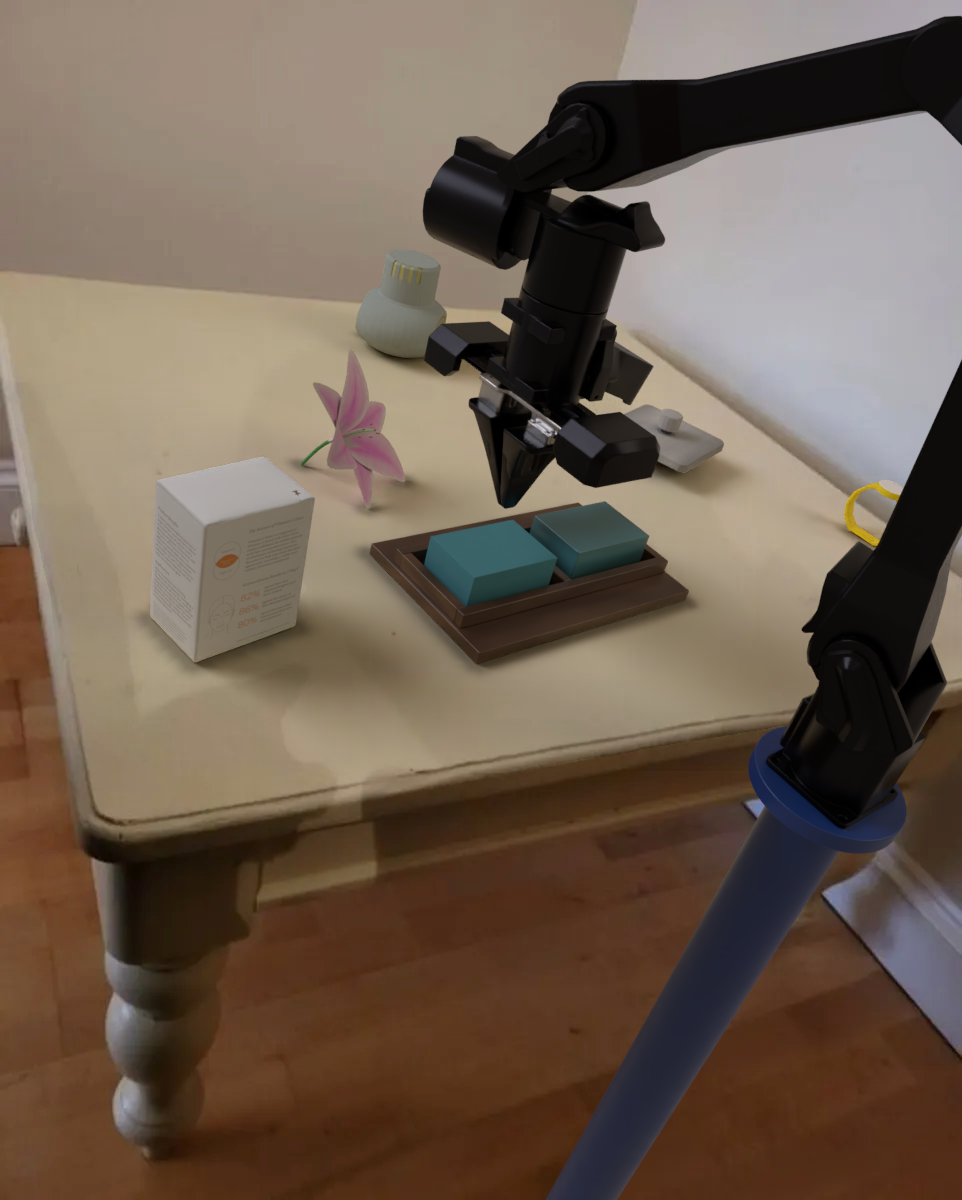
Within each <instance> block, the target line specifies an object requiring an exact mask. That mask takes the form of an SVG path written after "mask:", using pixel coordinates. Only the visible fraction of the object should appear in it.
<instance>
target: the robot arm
mask: <svg viewBox="0 0 962 1200" xmlns="http://www.w3.org/2000/svg"><path fill="white" fill-rule="evenodd" d="M551 109H552V110H551V111H550V113H549V116H548V120H547V124H546V125H545V126H544V127H543V128H542V129H541V130H540V131H539V132H537V134H535V135H534V136H533V137H532V138H531V139H530V140H529V141H528V142H526V144H525V145H524V146H522V148H521V149H520V150H518V151H517V152H516V153H511V152H508V151H506V150H504V149H502V148H499V147H498V146H497V145H496V144H494V143H493V142H491V141H490V140H489V139H485V138H483V137H481V136H478V135H461V136H458V137H457V138H456V139H455V145H454V150H453V155H451V156H450V157H449V158H448V159H446V160H445V161H444V163H442V165H441V166H440V167H439V168H438V170H437V172H436V174H435V175H434V176H433V177H434V178H433V179H432V182H431V184H430V187H428V188H427V189H426V190H425V193H424V198H423V202H422V203H423V205H422V222H423V226H424V229H425V231H426V233H427V234H428V236H429V237H430V238H432V239H433V240H435V241H437V242H440V243H442V244H444V245H447V246H449V247H451V248H453V249H455V250H457V251H460V252H461V253H464V254H467V255H468V256H471V257H472V258H475V259H477V260H479V261H481V262H484V263H486V264H488V265H490V266H493V267H495V268H496V269H499V270H504V271H506V270H510V269H511V268H515V266H517V265H518V264H519V263H520V262H521V261H526V260H527V264H526V267H525V271H524V274H523V275H524V276H523V280H522V284H521V287H520V291H519V295H518V297H504V298H503V303H502V306H501V311H500V314H502V315H503V316H504V317H506V318H507V319H509V320H510V321H512V322H511V327H510V330H509V333H507V332H506V331H504V330H503V329H501V328H499V326H497V325H495V324H494V323H492V322H491V321H489V320H487V321H470V322H469V321H468V322H467V321H466V322H447V323H445V324H441V325H440V326H439V327H438V328H437V329H436V330H435V331H434V332H433V333H432V334H431V335H430V336H429V337H428V342H427V347H426V352H425V356H424V357H423V362H425V363H426V364H427V365H428V366H429V367H431V368H432V369H434V370H435V371H436V372H437V373H439V374H440V375H442V376H443V377H451V376H453V375H455V374H456V373H458V372H459V371H460V370H461V367H462V361H465V362H466V363H467V364H468V365H470V366H471V367H473V368H474V369H475V370H476V371H478V372H479V376H478V379H479V380H480V381H481V385H480V388H479V392H478V396H477V397H470V398H469V399H468V408H469V409H470V410H471V411H472V412H473V414H474V417H475V420H476V424H477V427H478V431H479V434H480V437H481V441H482V444H483V447H484V451H485V455H486V458H487V464H488V466H489V471H490V475H491V481H492V484H493V488H494V489H493V490H494V492H495V496H496V501H497V504H498V505H500V506H501V508H502V509H505V510H507V509H512V508H515V507H516V506H517V505H518V504H519V502H520V501H521V500H522V499H523V498H524V497H525V495H526V494H527V492H528V491H529V490H530V488H531V487H532V486H533V485H534V484H535V482H536V481H537V479H538V478H539V477H540V476H541V474H542V473H543V472H544V470H545V469H546V468H548V465H550V464H551V463H552V462H553V461H554V460H555V462H556V465H557V466H559V468H560V467H561V469H563V470H564V471H565V472H566V473H567V474H569V475H570V476H572V477H573V478H574V479H576V480H577V481H578V482H579V483H580V484H582V485H583V486H586V487H591V488H593V489H598V488H603V487H609V486H614V485H619V484H620V485H621V484H624V483H625V484H626V483H631V482H636V481H640V480H645V479H651V478H652V477H653V474H654V472H655V470H656V467H657V464H658V462H657V461H658V458H659V455H660V445H659V443H658V441H657V439H656V436H654V435H653V434H652V433H650V432H649V431H647V430H646V429H644V428H643V427H641V426H640V425H639V424H637V423H636V422H634V421H633V420H631V419H630V418H628V417H627V416H626V415H624V414H625V413H623V412H621V411H615V412H607V413H600V414H596V413H595V412H594V411H592V410H591V409H590V408H588V407H587V406H585V405H584V404H582V403H581V402H580V400H586V401H587V402H589V403H592V402H601V401H603V399H604V396H605V394H606V393H607V394H609V395H611V396H613V397H616V398H618V399H621V401H622V403H623V404H624V405H628V406H632V404H633V402H634V401H635V399H636V398H637V396H638V394H639V393H640V391H641V389H642V387H643V386H644V384H645V382H646V381H647V379H648V377H649V376H650V373H651V372H652V370H653V369H654V365H653V364H652V363H650V362H648V361H647V360H646V359H644V358H642V357H641V356H639V355H638V354H636V353H635V352H633V351H631V350H630V349H628V348H627V347H625V346H623V344H620V343H619V342H617V341H616V340H617V336H618V331H617V327H618V325H617V324H615V323H613V322H612V321H610V320H609V319H607V315H608V311H609V309H610V305H611V302H612V299H613V296H614V292H615V289H616V287H617V283H618V280H619V276H620V273H621V270H622V266H623V263H624V261H625V260H624V259H625V257H626V253H627V251H630V252H632V253H639V252H643V251H647V250H653V249H657V248H660V247H663V246H664V245H665V242H666V236H665V235H664V233H663V231H662V229H661V227H660V226H659V224H658V223H657V221H656V220H655V218H654V216H653V213H652V209H651V204H650V202H649V201H646V200H645V201H638V202H632V203H628V204H627V205H626V206H625V207H621V206H619V205H617V204H614V203H612V202H609V201H607V200H604V199H602V198H599V197H598V196H595V195H592V194H583V195H581V196H579V197H577V198H575V199H573V201H570V200H567V199H565V198H563V197H560V196H558V195H555V194H553V193H552V192H553V190H558V189H567V188H568V189H570V190H572V191H575V192H577V193H579V192H580V193H581V192H584V193H593V192H601V191H609V190H618V189H626V188H635V187H640V186H644V185H646V184H649V183H652V182H655V181H657V180H659V179H662V178H664V177H667V176H670V175H672V174H674V173H677V172H681V171H682V170H685V169H688V168H690V167H691V166H694V165H696V164H697V163H699V162H702V161H704V160H706V159H708V158H709V157H713V156H715V155H717V154H720V153H723V152H725V151H727V150H731V149H737V148H742V147H747V146H752V145H758V144H764V143H769V142H773V141H780V140H784V139H785V140H786V139H792V138H796V137H802V136H806V135H811V134H812V135H813V134H816V133H823V132H829V131H835V130H840V129H844V128H850V127H854V126H861V125H867V124H873V123H877V122H884V121H888V120H892V119H899V118H904V117H905V118H906V117H910V116H915V115H919V114H921V115H922V114H929V115H930V116H931V117H932V118H934V119H935V120H936V121H937V122H938V123H939V124H940V125H941V126H942V128H944V129H945V130H946V131H947V132H948V133H949V134H950V135H951V136H952V137H953V139H955V141H957V142H958V144H959V145H961V146H962V15H947V16H946V15H945V16H942V17H939V18H936V19H933V20H932V21H930V22H928V23H926V24H924V25H922V26H920V27H918V28H914V29H912V30H907V31H902V32H897V33H893V34H888V35H884V36H881V37H880V36H879V37H876V38H871V39H867V40H863V41H857V42H854V43H849V44H845V45H841V46H837V47H836V46H835V47H832V48H827V49H824V50H820V51H815V52H811V53H807V54H803V55H797V56H794V57H789V58H784V59H780V60H775V61H772V62H767V63H763V64H759V65H755V66H751V67H746V68H742V69H737V70H732V71H728V72H725V73H720V74H716V75H711V76H706V77H703V78H688V79H687V78H684V79H683V78H682V79H613V80H612V79H611V80H609V79H607V80H606V79H605V80H584V81H579V82H576V83H574V84H572V85H569V86H568V87H566V88H565V89H564V90H563V91H561V93H559V94H558V96H557V98H556V102H555V104H554V106H553V108H551ZM961 538H962V359H961V360H960V363H959V365H958V366H957V369H956V370H955V373H954V376H953V378H952V379H951V382H950V384H949V386H948V388H947V390H946V393H945V395H944V398H943V399H942V402H941V403H940V406H939V408H938V411H937V413H936V415H935V417H934V419H933V422H932V424H931V426H930V429H929V431H928V433H927V435H926V437H925V440H924V442H923V444H922V445H921V448H920V451H919V452H918V455H917V457H916V459H915V461H914V464H913V466H912V468H911V470H910V473H909V474H908V476H907V479H906V481H905V484H904V486H903V490H902V492H901V495H900V497H899V499H898V501H897V502H896V503H895V505H894V508H893V510H892V512H891V514H890V517H889V519H888V521H887V523H886V526H885V527H884V530H883V532H882V535H881V537H880V541H879V543H878V545H877V546H875V548H874V549H872V548H870V547H869V546H867V545H866V544H864V543H863V542H862V541H856V542H855V544H854V545H852V547H850V549H849V550H848V551H847V552H845V554H844V555H843V556H842V557H841V558H840V559H839V560H838V561H837V562H836V563H835V564H834V565H833V566H832V568H831V569H830V570H829V571H828V572H827V574H826V575H825V578H824V581H823V585H822V588H821V591H820V592H821V593H820V597H819V602H818V605H817V609H816V611H815V612H814V614H813V615H812V616H811V617H810V618H809V620H808V621H806V622H805V624H804V625H803V626H802V627H801V632H802V633H804V634H812V635H811V636H810V638H809V640H808V643H807V649H806V663H807V664H808V666H809V667H811V670H812V672H813V674H814V677H815V678H816V680H817V681H818V685H817V687H816V689H815V691H814V693H811V694H809V695H807V696H805V697H803V698H802V699H801V701H800V703H799V704H798V706H797V708H796V710H795V712H794V714H793V715H792V717H791V719H790V721H789V722H788V724H787V726H788V727H787V728H786V730H785V732H784V734H783V736H782V738H781V739H780V745H781V746H782V747H783V749H781V750H779V751H776V752H774V753H772V754H770V755H769V756H768V757H767V759H766V764H767V766H768V767H769V768H771V769H772V770H773V771H774V772H775V773H776V774H777V775H779V776H780V777H781V778H782V779H783V780H784V781H785V782H786V783H788V784H789V785H790V786H791V787H792V788H793V789H794V790H796V791H797V792H798V793H799V794H800V795H801V796H802V797H803V798H805V799H806V800H807V801H808V802H809V803H810V804H811V805H813V806H814V807H815V808H816V809H817V810H818V811H819V812H820V813H822V814H823V815H824V816H825V817H826V818H827V819H828V820H830V821H831V822H832V823H833V824H834V825H835V826H837V827H838V828H840V829H847V828H849V827H850V826H852V825H854V824H855V823H857V822H859V821H860V820H862V819H864V818H865V817H867V816H869V815H870V814H872V813H874V812H875V811H877V810H879V809H880V808H882V807H884V806H886V805H887V804H889V803H891V802H892V801H894V800H895V799H896V797H897V796H898V792H897V790H896V789H895V788H894V785H895V784H896V783H897V782H898V781H899V780H900V778H901V777H902V775H903V773H904V772H905V770H906V769H907V767H908V766H909V764H910V763H911V761H912V760H913V757H914V756H915V754H916V753H917V751H918V750H919V748H920V747H921V746H922V743H923V742H924V741H925V739H926V738H927V735H926V733H925V732H923V731H922V730H923V728H924V726H925V724H926V722H927V721H928V720H929V717H930V716H931V714H932V712H933V710H934V709H935V707H936V705H937V703H938V701H939V700H940V698H941V696H942V694H943V693H944V691H945V689H946V687H947V685H948V681H947V679H946V676H945V673H944V671H943V668H942V665H941V663H940V660H939V658H938V655H937V653H936V650H935V647H934V645H933V643H932V642H933V639H934V636H935V634H936V630H937V626H938V624H939V620H940V616H941V612H942V608H943V604H944V601H945V597H946V593H947V589H948V583H949V575H950V570H951V563H952V558H953V555H954V551H955V550H956V547H957V545H959V544H958V543H959V541H960V540H961Z"/></svg>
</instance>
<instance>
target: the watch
mask: <svg viewBox="0 0 962 1200" xmlns="http://www.w3.org/2000/svg"><path fill="white" fill-rule="evenodd" d="M903 488H904V486H901V484H899V483H896V482H895V481H892V480H889V479H880V480H878V482H872V483H869V484H866V485H865V486H862V487H860V488H858V489H856V490H855V491H853V492H852V493H851V494H850V496H849V497H848V499H847V500H846V503H845V506H844V513H843V516H844V517H843V518H844V521H845V522H844V523H845V524H846V527H847V530H848V532H851V533H853V534H855V535H856V536H858V537H859V538H861V539H862V540H864V541H865V542H867V543H868V544H870V546H872V547H877V545H878V543H879V541H880V539H881V538H880V539H879V538H876V537H875V536H873V535H872V534H870V533H869V532H868V531H866V530H865V529H863V528H861V526H859V525H857V522H856V519H855V516H854V509H855V502H856V501H857V499H858V498H859V497H860V495H861V494H862V493H863V492H865V491H867V490H876V491H877V492H878V493H879V495H881V496H883V497H884V498H887V499H889V500H891V501H895V502H896V503H897V501H898V499H899V497H900V495H901V492H902V490H903Z"/></svg>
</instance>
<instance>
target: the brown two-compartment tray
mask: <svg viewBox="0 0 962 1200" xmlns="http://www.w3.org/2000/svg"><path fill="white" fill-rule="evenodd" d="M509 520H514V521H515V522H516V523H517V524H519V525H520V526H521V527H522V528H523V529H524V530H526V531H527V532H528V533H529V534H530V535H531V536H533V537H534V538H535V539H536V540H537V541H538V542H540V543H541V544H542V545H543V546H544V547H545V548H547V549H548V550H549V551H550V552H551V553H552V554H554V555H555V556H556V557H557V561H556V564H555V567H554V570H553V573H552V576H551V579H550V582H549V585H548V586H545V587H541V588H537V589H534V590H530V591H526V592H522V593H518V594H514V595H510V596H507V597H503V598H499V599H495V600H491V601H487V602H484V603H480V604H476V605H472V606H468V607H465V605H464V604H463V603H462V602H461V601H459V600H458V599H457V598H456V597H455V596H454V595H453V594H452V593H451V592H450V591H449V590H448V589H447V588H446V587H445V586H444V585H443V584H442V583H441V582H440V581H439V580H438V579H437V578H436V577H435V576H434V575H433V574H432V573H431V572H430V571H429V570H428V569H427V568H426V567H425V566H424V563H425V559H426V554H427V550H428V546H429V542H430V538H431V536H435V535H440V534H445V533H450V532H455V531H460V530H465V529H470V528H474V527H479V526H484V525H489V524H494V523H499V522H504V521H509ZM649 539H650V534H648V533H647V532H645V531H644V529H642V528H640V527H639V526H638V525H637V524H635V523H634V522H633V521H632V520H630V519H629V518H628V517H626V516H625V515H624V514H622V513H621V512H620V511H619V510H618V509H616V508H615V507H614V506H612V505H611V504H610V503H608V502H607V501H600V502H595V503H589V504H585V505H582V504H581V503H580V502H574V503H569V504H563V505H559V506H554V507H549V508H544V509H539V510H532V511H528V512H523V513H517V514H513V515H508V516H502V517H499V518H498V517H497V518H493V519H487V520H483V521H477V522H473V523H468V524H463V525H457V526H453V527H448V528H443V529H438V530H432V531H427V532H423V533H418V534H412V535H408V536H402V537H397V538H392V539H388V540H387V539H386V540H382V541H377V542H372V543H371V544H370V548H369V555H370V556H371V557H372V558H373V559H374V561H376V562H377V563H378V564H379V566H381V567H382V568H383V570H384V571H385V572H386V573H387V574H388V575H389V576H390V577H391V578H392V579H393V580H394V581H395V582H396V583H397V584H398V585H399V586H400V587H401V588H402V589H403V590H404V591H405V592H406V594H408V595H409V596H410V597H411V598H412V600H414V601H415V603H416V604H418V606H419V607H420V608H421V609H423V611H424V612H426V614H427V615H428V616H429V617H430V618H431V619H432V620H433V621H434V622H435V623H436V625H438V626H439V627H440V628H441V629H442V630H443V631H444V633H446V635H448V636H449V637H450V639H451V640H452V641H453V642H454V643H455V644H456V645H457V646H458V647H459V648H460V649H461V650H462V651H463V652H464V653H465V654H466V655H467V656H468V657H469V658H470V659H471V660H472V661H473V662H474V663H475V664H480V663H484V662H486V661H490V660H492V659H497V658H500V657H503V656H506V655H510V654H514V653H517V652H519V651H523V650H526V649H530V648H532V647H537V646H539V645H542V644H546V643H549V642H552V641H556V640H559V639H562V638H565V637H569V636H572V635H575V634H578V633H582V632H585V631H588V630H592V629H595V628H598V627H602V626H605V625H608V624H611V623H615V622H618V621H621V620H625V619H627V618H631V617H635V616H637V615H642V614H644V613H648V612H651V611H654V610H659V609H661V608H663V607H667V606H670V605H673V604H677V603H680V602H683V601H686V599H687V597H688V595H689V592H690V590H689V589H688V588H687V587H685V586H684V585H683V584H682V583H680V582H679V581H677V580H676V578H674V577H673V576H671V575H670V574H669V573H668V572H666V569H667V566H668V563H669V560H667V558H665V556H662V554H660V552H658V551H657V550H656V549H654V548H653V547H651V546H650V545H649V544H648V541H649Z"/></svg>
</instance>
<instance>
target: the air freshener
mask: <svg viewBox="0 0 962 1200" xmlns="http://www.w3.org/2000/svg"><path fill="white" fill-rule="evenodd" d="M384 259H385V260H384V264H383V270H382V276H381V280H380V286H379V287H374V288H372V289H370V290H369V291H368V292H367V293H366V295H365V296H364V297H363V300H362V301H361V304H360V306H359V308H358V309H359V310H358V311H357V314H356V319H355V320H356V321H355V330H356V332H357V334H358V335H359V337H360V338H361V339H362V340H363V341H364V342H365V343H366V344H368V345H369V346H371V347H372V348H373V349H375V350H376V351H379V352H381V353H383V354H386V355H389V356H393V357H397V358H401V359H418V358H424V357H425V352H426V347H427V342H428V337H429V336H430V335H431V334H432V333H433V332H434V331H435V330H436V329H437V328H438V327H439V326H440V325H441V324H445V323H446V322H447V319H448V318H447V317H448V313H447V310H446V309H445V308H444V307H443V306H442V304H441V303H440V302H438V301H437V300H436V294H437V290H438V285H439V279H440V275H441V274H440V273H441V269H442V266H441V264H440V263H439V261H438V260H437V259H436V258H434V257H433V256H431V255H429V254H426V253H424V252H420V251H416V250H411V249H403V248H397V249H393V250H390V251H388V252H387V253H386V255H385V258H384Z"/></svg>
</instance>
